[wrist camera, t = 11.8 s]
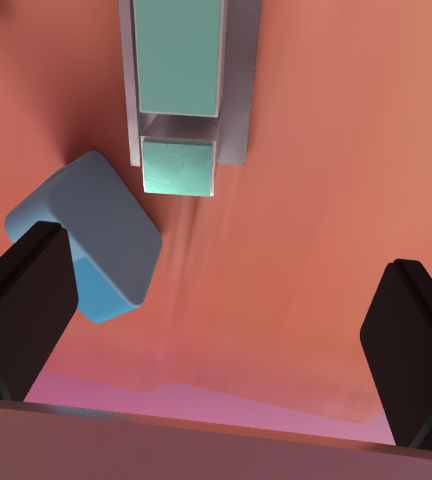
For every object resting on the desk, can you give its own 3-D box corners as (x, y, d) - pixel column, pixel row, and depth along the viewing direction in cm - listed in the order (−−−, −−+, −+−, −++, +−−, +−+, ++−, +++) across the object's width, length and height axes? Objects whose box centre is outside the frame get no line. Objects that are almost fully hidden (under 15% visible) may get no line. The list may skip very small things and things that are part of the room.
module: (229, -27, 26) (226, -42, 18) (222, 93, 30) (217, 119, 23) (159, -31, 26) (128, -47, 18) (162, 89, 30) (138, 114, 23)
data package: (62, 165, 36) (-6, 225, 26) (97, 144, 35) (39, 199, 25) (132, 253, 42) (99, 331, 31) (165, 238, 40) (141, 314, 30)
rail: (273, -134, 24) (294, -219, 15) (244, 157, 35) (247, 208, 26) (123, -142, 24) (56, -232, 15) (141, 150, 35) (107, 198, 26)
